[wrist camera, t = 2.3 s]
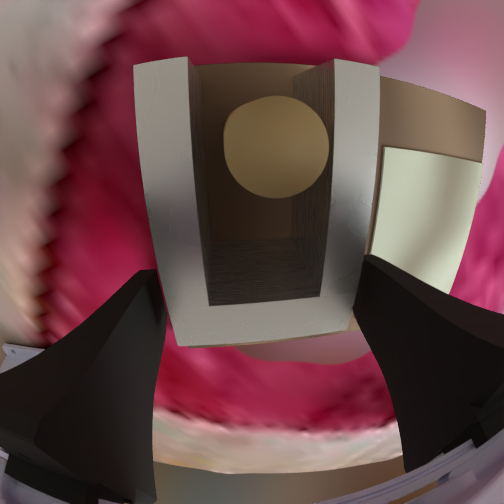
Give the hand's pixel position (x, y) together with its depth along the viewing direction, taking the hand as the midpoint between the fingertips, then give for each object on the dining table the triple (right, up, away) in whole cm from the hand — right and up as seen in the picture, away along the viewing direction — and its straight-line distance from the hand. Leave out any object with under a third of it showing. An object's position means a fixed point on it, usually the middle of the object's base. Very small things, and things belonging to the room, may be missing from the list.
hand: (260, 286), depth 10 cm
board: (+4, +3, +3) cm, 6 cm away
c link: (0, +4, 0) cm, 4 cm away
